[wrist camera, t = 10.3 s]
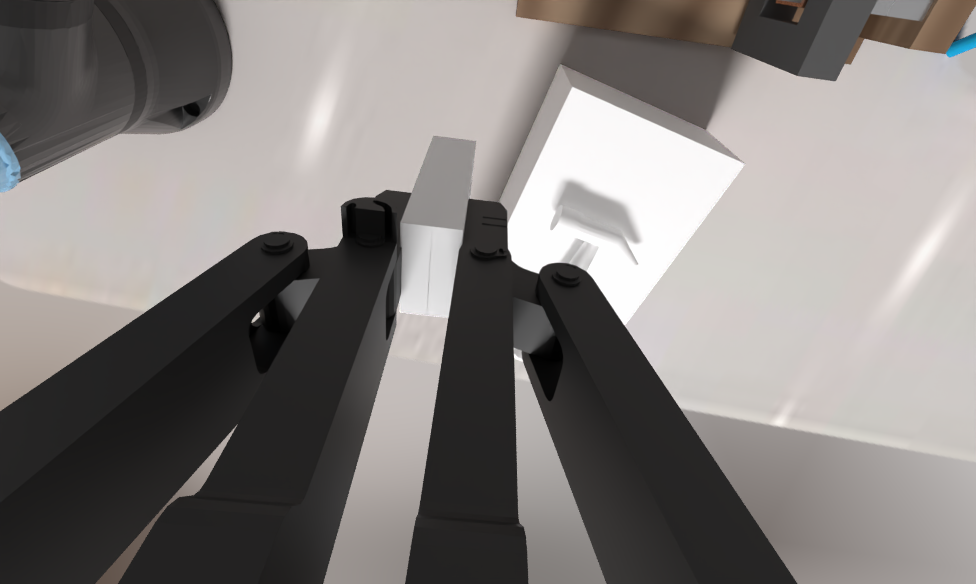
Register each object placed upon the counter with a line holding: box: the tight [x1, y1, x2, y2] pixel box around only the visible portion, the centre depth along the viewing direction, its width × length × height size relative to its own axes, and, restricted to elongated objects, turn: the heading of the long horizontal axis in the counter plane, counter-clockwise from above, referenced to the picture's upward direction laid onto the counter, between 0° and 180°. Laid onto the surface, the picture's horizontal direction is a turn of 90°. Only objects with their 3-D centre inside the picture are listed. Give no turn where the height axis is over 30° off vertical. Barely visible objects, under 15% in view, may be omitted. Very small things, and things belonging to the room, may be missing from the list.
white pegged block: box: [499, 64, 745, 361], centre depth 43 cm, size 14×25×11 cm, turn 158°
